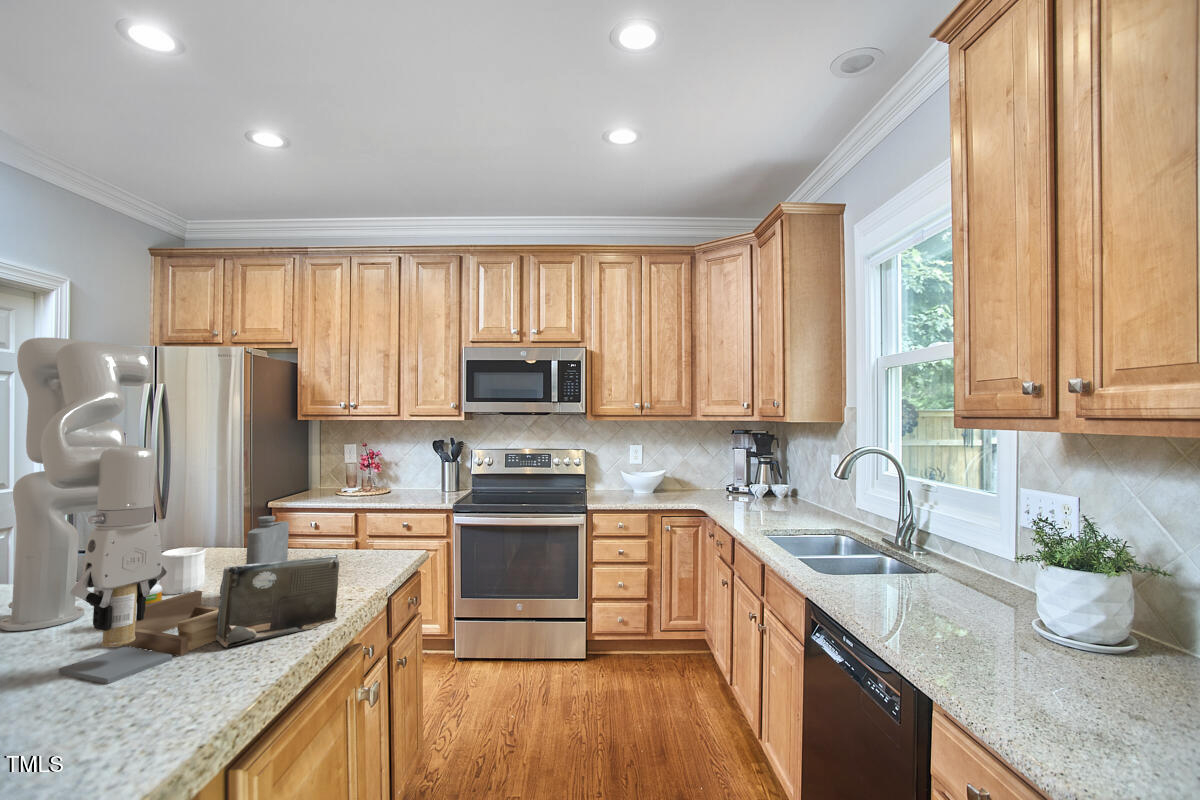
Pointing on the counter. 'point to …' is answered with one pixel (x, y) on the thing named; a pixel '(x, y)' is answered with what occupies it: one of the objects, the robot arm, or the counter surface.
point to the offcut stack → (199, 629)
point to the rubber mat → (115, 664)
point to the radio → (276, 599)
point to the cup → (183, 570)
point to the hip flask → (268, 542)
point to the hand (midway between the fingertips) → (119, 623)
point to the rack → (168, 623)
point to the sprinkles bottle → (122, 616)
